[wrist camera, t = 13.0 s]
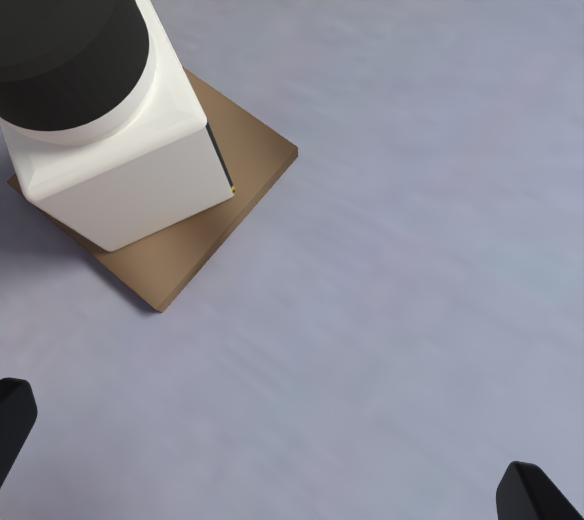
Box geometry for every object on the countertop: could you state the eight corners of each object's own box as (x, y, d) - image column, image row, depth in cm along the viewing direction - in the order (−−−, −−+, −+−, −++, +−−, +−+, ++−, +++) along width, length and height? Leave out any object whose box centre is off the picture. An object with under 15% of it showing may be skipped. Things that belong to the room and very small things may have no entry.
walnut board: (162, 312, 23) (155, 309, 22) (18, 189, 25) (6, 181, 24) (298, 156, 25) (297, 147, 24) (153, 54, 27) (147, 42, 26)
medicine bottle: (238, 197, 23) (166, 14, 12) (109, 256, 23) (-101, 125, 11) (187, 89, 25) (80, -160, 14) (66, 142, 25) (-153, -72, 13)
